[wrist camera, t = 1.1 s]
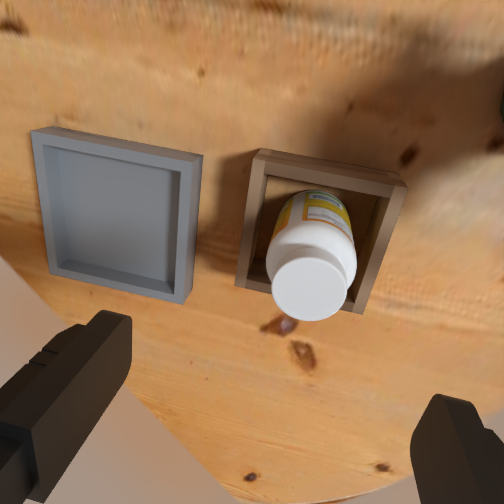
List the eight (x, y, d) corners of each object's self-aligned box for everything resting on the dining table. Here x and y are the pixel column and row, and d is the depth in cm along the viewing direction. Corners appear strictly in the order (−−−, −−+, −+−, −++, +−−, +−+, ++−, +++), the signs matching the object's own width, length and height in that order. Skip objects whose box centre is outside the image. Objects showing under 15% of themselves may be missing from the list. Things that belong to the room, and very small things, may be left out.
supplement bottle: (292, 262, 29) (279, 341, 21) (267, 202, 28) (241, 262, 19) (359, 242, 28) (374, 320, 19) (336, 177, 26) (342, 231, 17)
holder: (261, 147, 26) (252, 158, 23) (398, 173, 25) (408, 188, 22) (243, 263, 30) (234, 285, 27) (358, 289, 29) (362, 314, 26)
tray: (52, 126, 28) (30, 130, 26) (203, 155, 27) (192, 162, 25) (67, 260, 34) (49, 273, 31) (192, 289, 32) (182, 304, 30)
